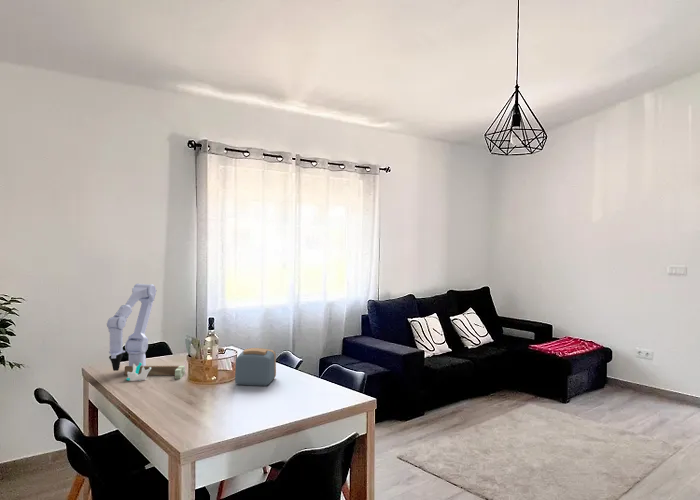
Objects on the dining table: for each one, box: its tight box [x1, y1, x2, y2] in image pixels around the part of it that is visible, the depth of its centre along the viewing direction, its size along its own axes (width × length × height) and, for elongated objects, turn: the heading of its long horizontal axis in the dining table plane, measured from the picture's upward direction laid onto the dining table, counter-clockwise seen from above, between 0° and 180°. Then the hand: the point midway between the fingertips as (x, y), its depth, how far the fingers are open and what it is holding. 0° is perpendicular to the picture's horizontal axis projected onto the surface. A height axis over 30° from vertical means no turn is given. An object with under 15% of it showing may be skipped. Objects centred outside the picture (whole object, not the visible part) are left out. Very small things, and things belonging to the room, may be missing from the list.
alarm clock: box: [234, 347, 277, 387], centre depth 253 cm, size 16×16×16 cm
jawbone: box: [125, 363, 151, 382], centre depth 255 cm, size 12×8×9 cm, turn 49°
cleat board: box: [124, 365, 186, 380], centre depth 260 cm, size 10×28×4 cm, turn 94°
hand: (116, 370), depth 256 cm, fingers closed
